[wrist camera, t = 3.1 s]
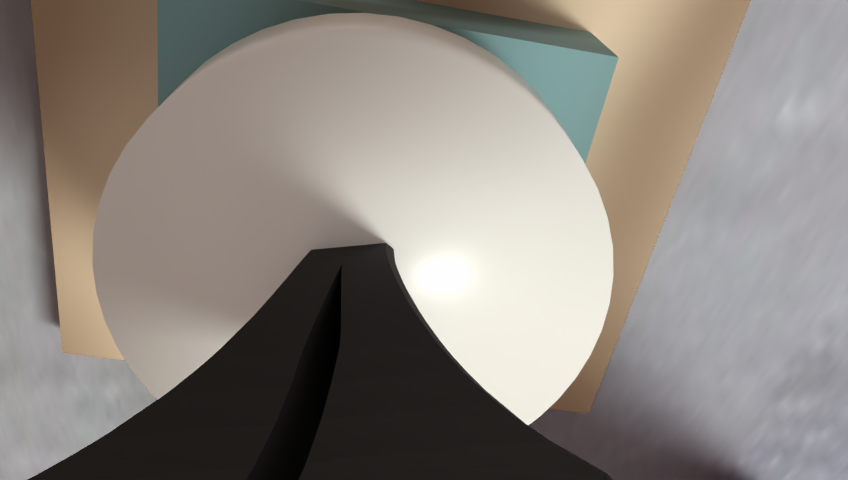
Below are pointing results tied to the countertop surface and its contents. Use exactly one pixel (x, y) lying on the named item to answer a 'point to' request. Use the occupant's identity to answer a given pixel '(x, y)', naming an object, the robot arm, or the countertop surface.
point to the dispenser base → (618, 159)
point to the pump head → (358, 202)
